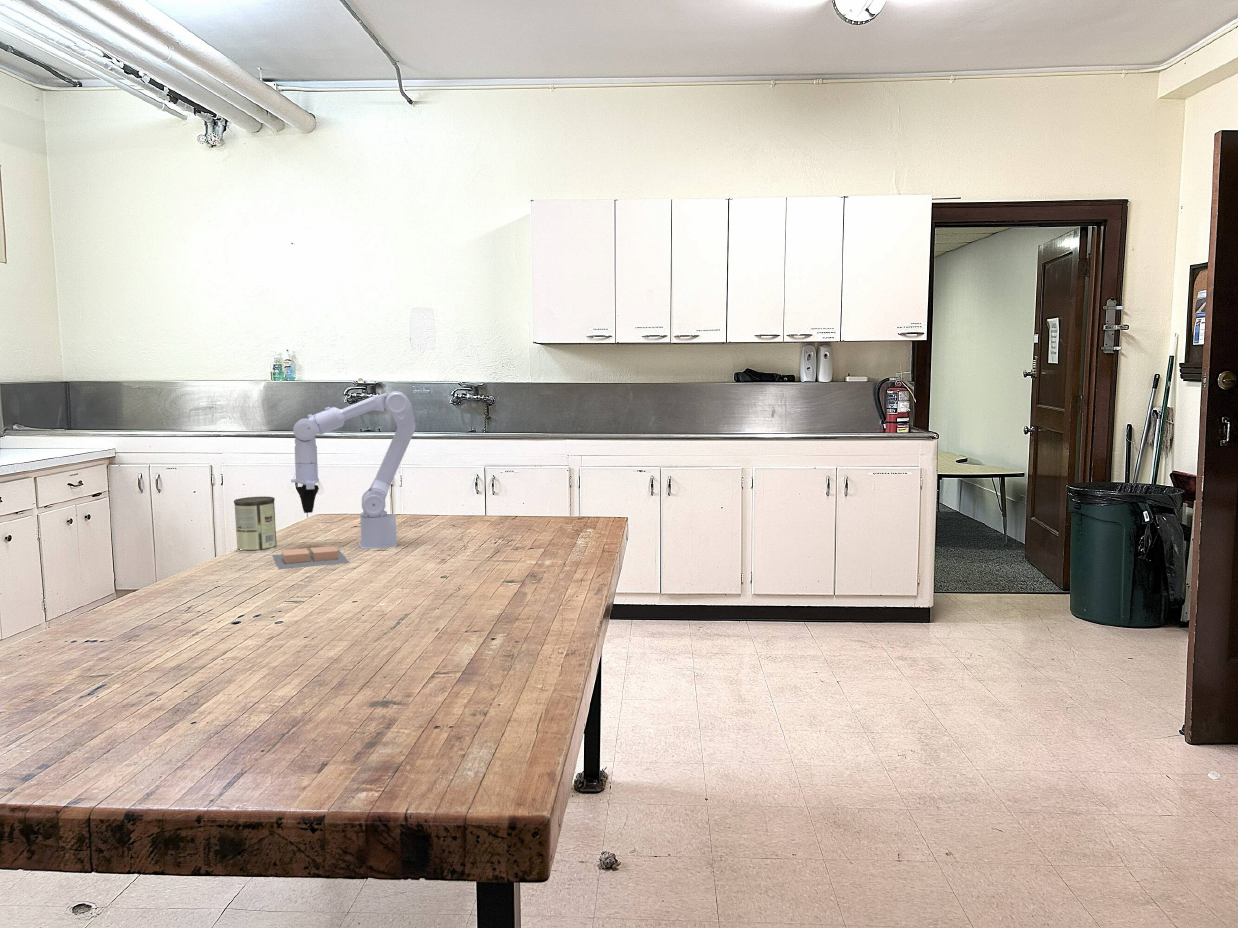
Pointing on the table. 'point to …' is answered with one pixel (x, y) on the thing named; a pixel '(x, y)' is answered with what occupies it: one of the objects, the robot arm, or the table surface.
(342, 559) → the slate mat
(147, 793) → the table surface
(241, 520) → the coffee can
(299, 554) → the tile
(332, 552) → the tile
